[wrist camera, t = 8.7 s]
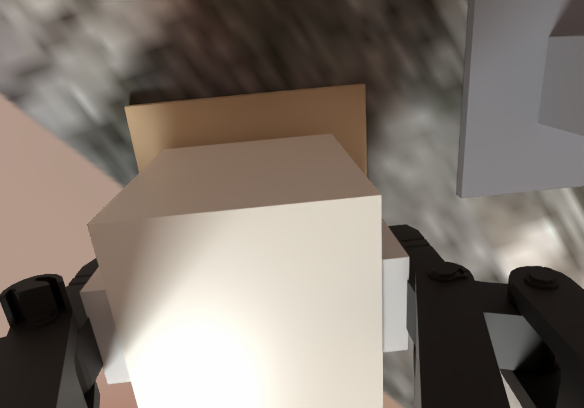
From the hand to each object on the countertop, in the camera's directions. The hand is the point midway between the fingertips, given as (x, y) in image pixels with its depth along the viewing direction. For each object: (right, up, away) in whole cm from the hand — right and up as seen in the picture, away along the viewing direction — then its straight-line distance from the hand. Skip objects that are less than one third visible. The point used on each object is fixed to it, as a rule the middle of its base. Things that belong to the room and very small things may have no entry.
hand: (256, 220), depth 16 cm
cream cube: (0, 0, 0) cm, 0 cm away
